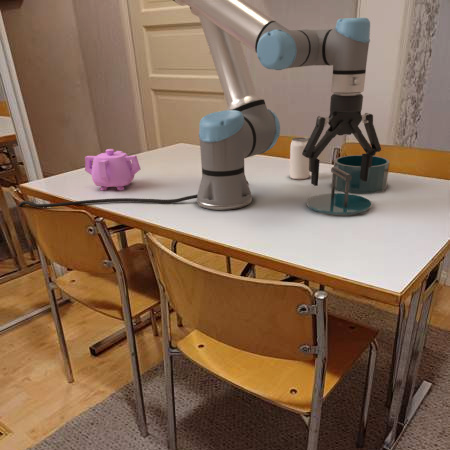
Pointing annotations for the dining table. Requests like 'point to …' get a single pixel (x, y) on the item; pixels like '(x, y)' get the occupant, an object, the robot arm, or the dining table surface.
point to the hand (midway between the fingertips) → (339, 182)
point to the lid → (339, 199)
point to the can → (298, 159)
